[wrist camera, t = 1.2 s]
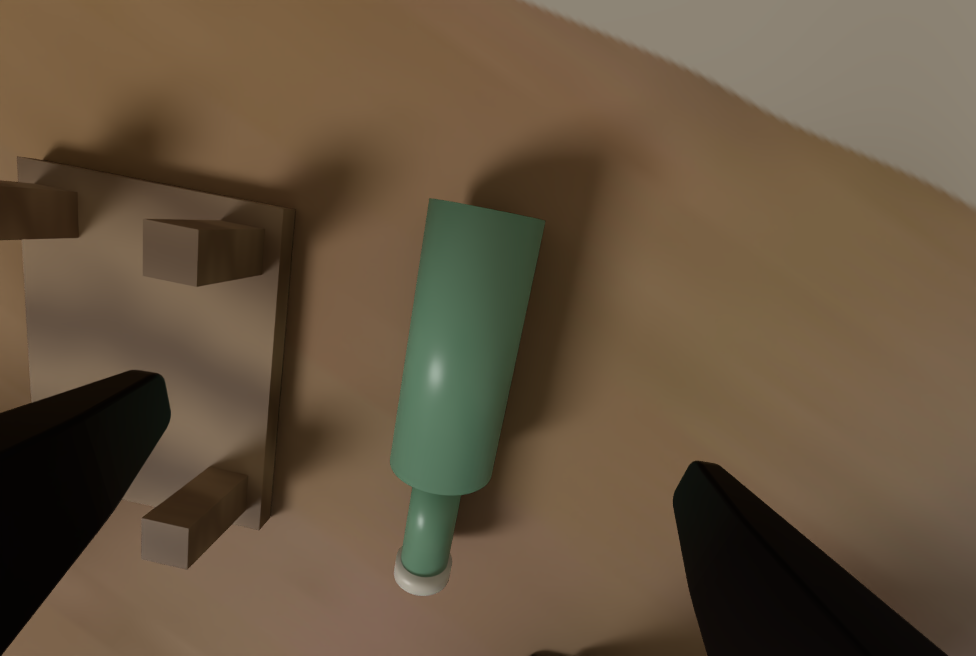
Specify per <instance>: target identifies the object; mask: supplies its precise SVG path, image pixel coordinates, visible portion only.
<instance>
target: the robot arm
mask: <svg viewBox="0 0 976 656" xmlns="http://www.w3.org/2000/svg"><path fill="white" fill-rule="evenodd" d="M170 419H171V408H170V403H169V398H168V393H167V388H166V383H165V379H164V378H163V376H162V375H161V374H158V373H155V372H149V371H143V370H129V371H126V372H123V373H120V374H117V375H114V376H111V377H108V378H105V379H102V380H99V381H96V382H93V383H90V384H87V385H84V386H81V387H78V388H75V389H72V390H69V391H65V392H62V393H59V394H56V395H53V396H50V397H47V398H44V399H41V400H38V401H35V402H32V403H29V404H26V405H23V406H20V407H17V408H14V409H11V410H8V411H5V412H2V413H0V656H2V654H3V653H4V652H5V650H6V649H7V648H8V647H9V645H10V644H11V643H12V641H13V640H14V639H15V638H16V636H17V635H18V634H19V632H20V631H21V630H22V629H23V627H24V626H25V625H26V624H27V622H28V621H29V620H30V618H31V617H32V616H33V615H34V613H35V612H36V611H37V609H38V608H39V607H40V606H41V604H42V603H43V602H44V600H45V599H46V598H47V597H48V595H49V594H50V593H51V592H52V590H53V589H54V588H55V586H56V585H57V584H58V583H59V581H60V580H61V579H62V577H63V576H64V575H65V574H66V572H67V571H68V570H69V568H70V567H71V566H72V565H73V563H74V562H75V561H76V559H77V558H78V557H79V556H80V554H81V553H82V552H83V551H84V549H85V548H86V547H87V545H88V544H89V543H90V542H91V540H92V539H93V538H94V536H95V535H96V534H97V533H98V531H99V530H100V529H101V527H102V526H103V525H104V523H105V522H106V521H107V519H108V518H109V517H110V515H111V514H112V513H113V511H114V510H115V508H116V507H117V506H118V504H119V503H120V501H121V500H122V498H123V497H124V495H125V494H126V492H127V490H128V489H129V487H130V486H131V484H132V483H133V481H134V479H135V478H136V476H137V475H138V473H139V471H140V470H141V468H142V467H143V465H144V464H145V462H146V460H147V459H148V457H149V456H150V454H151V453H152V451H153V449H154V448H155V446H156V445H157V443H158V442H159V440H160V438H161V437H162V435H163V434H164V432H165V431H166V429H167V427H168V425H169V423H170ZM673 508H674V514H675V519H676V524H677V530H678V535H679V540H680V546H681V551H682V556H683V562H684V567H685V573H686V578H687V583H688V587H689V592H690V596H691V599H692V603H693V607H694V611H695V614H696V618H697V621H698V624H699V628H700V631H701V635H702V638H703V642H704V645H705V649H706V652H707V655H708V656H948V655H947V654H946V653H944V652H943V651H942V650H941V649H940V648H938V647H937V646H936V645H935V644H934V643H932V642H931V641H930V640H929V639H928V638H926V637H925V636H924V635H923V634H922V633H920V632H919V631H918V630H917V629H916V628H914V627H913V626H912V625H911V624H910V623H908V622H907V621H906V620H905V619H904V618H902V617H901V616H900V615H899V614H897V613H896V612H895V611H894V610H893V609H891V608H890V607H889V606H888V605H887V604H885V603H884V602H883V601H882V600H881V599H879V598H878V597H877V596H876V595H875V594H873V593H872V592H871V591H870V590H869V589H867V588H866V587H865V586H864V585H863V584H861V583H860V582H859V581H858V580H857V579H855V578H854V577H853V576H852V575H851V574H849V573H848V572H847V571H846V570H845V569H843V568H842V567H841V566H840V565H839V564H837V563H836V562H835V561H834V560H833V559H831V558H830V557H829V556H828V555H827V554H825V553H824V552H823V551H822V550H821V549H819V548H818V547H817V546H816V545H815V544H813V543H812V542H811V541H810V540H809V539H807V538H806V537H805V536H804V535H803V534H801V533H800V532H799V531H798V530H797V529H795V528H794V527H793V526H792V525H791V524H789V523H788V522H787V521H786V520H785V519H783V518H782V517H781V516H780V515H779V514H777V513H776V512H775V511H774V510H773V509H771V508H770V507H769V506H768V505H767V504H765V503H764V502H763V501H762V500H761V499H759V498H758V497H757V496H756V495H755V494H753V493H752V492H751V491H750V490H749V489H747V488H746V487H745V486H744V485H743V484H741V483H740V482H739V481H738V480H737V479H735V478H734V477H733V476H732V475H731V474H729V473H728V472H727V471H726V470H725V469H723V468H722V467H721V466H720V465H718V464H715V463H710V462H703V461H693V462H692V463H691V464H690V465H689V466H688V468H687V470H686V472H685V474H684V475H683V477H682V479H681V481H680V483H679V484H678V486H677V488H676V490H675V492H674V496H673Z"/></svg>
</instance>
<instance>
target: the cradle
mask: <svg viewBox="0 0 976 656" xmlns="http://www.w3.org/2000/svg"><path fill="white" fill-rule="evenodd" d="M17 169H18V182H12V181H0V240H22V254H23V271H24V288H25V305H26V322H27V339H28V356H29V373H30V390H31V403H32V402H35V401H38V400H41V399H44V398H47V397H50V396H53V395H56V394H59V393H62V392H65V391H69V390H72V389H75V388H78V387H81V386H84V385H87V384H90V383H93V382H96V381H99V380H102V379H105V378H108V377H111V376H114V375H117V374H120V373H123V372H126V371H129V370H143V371H149V372H155V373H158V374H161V375H162V376H163V378H164V379H165V383H166V388H167V393H168V398H169V403H170V408H171V419H170V423H169V425H168V427H167V429H166V431H165V432H164V434H163V435H162V437H161V438H160V440H159V442H158V443H157V445H156V446H155V448H154V449H153V451H152V453H151V454H150V456H149V457H148V459H147V460H146V462H145V464H144V465H143V467H142V468H141V470H140V471H139V473H138V475H137V476H136V478H135V479H134V481H133V483H132V484H131V486H130V487H129V489H128V490H127V492H126V494H125V495H124V497H123V498H122V500H126V501H131V502H135V503H139V504H144V505H148V506H153V507H155V508H154V509H153V510H151V511H150V512H149V513H148V514H146V515H145V516H144V517H142V538H141V559H143V560H147V561H152V562H156V563H160V564H165V565H169V566H173V567H178V568H182V569H186V570H187V569H188V568H189V567H190V566H191V565H192V564H193V563H194V562H195V561H196V560H197V559H198V558H199V557H200V556H201V555H202V554H203V553H204V552H205V551H206V550H207V549H208V548H209V547H210V546H211V545H212V544H213V543H214V542H215V541H216V540H217V539H218V538H219V537H220V536H221V535H222V534H223V533H224V532H225V531H226V530H227V529H228V528H229V527H230V526H231V525H232V524H233V525H237V526H242V527H246V528H251V529H255V530H260V529H261V527H262V526H263V525H264V524H265V523H266V522H267V521H268V520H269V518H270V512H271V500H272V487H273V475H274V463H275V451H276V439H277V427H278V415H279V403H280V390H281V378H282V366H283V354H284V342H285V330H286V318H287V306H288V293H289V281H290V269H291V257H292V245H293V233H294V221H295V209H291V208H286V207H280V206H275V205H270V204H265V203H260V202H255V201H250V200H245V199H239V198H234V197H229V196H224V195H219V194H214V193H209V192H204V191H199V190H193V189H188V188H183V187H178V186H173V185H168V184H163V183H158V182H152V181H147V180H142V179H137V178H132V177H127V176H122V175H117V174H111V173H106V172H101V171H96V170H91V169H86V168H81V167H76V166H71V165H65V164H60V163H55V162H50V161H45V160H39V159H32V158H25V157H17Z"/></svg>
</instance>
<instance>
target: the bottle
mask: <svg viewBox="0 0 976 656" xmlns="http://www.w3.org/2000/svg"><path fill="white" fill-rule="evenodd" d="M544 226H545V221H544V220H541V219H536V218H532V217H527V216H522V215H518V214H513V213H508V212H503V211H498V210H493V209H487V208H482V207H477V206H472V205H466V204H461V203H455V202H450V201H444V200H438V199H431V198H429V204H428V211H427V218H426V224H425V231H424V238H423V244H422V251H421V258H420V264H419V271H418V277H417V284H416V291H415V297H414V304H413V311H412V317H411V324H410V331H409V337H408V344H407V351H406V357H405V364H404V371H403V377H402V384H401V390H400V397H399V404H398V410H397V417H396V424H395V430H394V437H393V444H392V450H391V457H390V465H391V468H392V470H393V472H394V473H395V474H396V476H397V477H398V478H400V479H401V480H402V481H403V482H405V483H406V484H408V485H410V486H412V493H411V499H410V505H409V511H408V517H407V523H406V529H405V535H404V541H403V546H402V547H401V548H400V549H399V551H398V553H397V557H396V563H395V569H394V577H395V580H396V582H397V583H398V585H399V586H400V587H401V588H402V589H403V590H405V591H406V592H408V593H411V594H414V595H419V596H428V595H433V594H435V593H438V592H439V591H441V590H442V589H443V588H444V587H445V586H446V585H447V583H448V581H449V576H450V571H451V566H452V557H451V554H450V549H451V544H452V539H453V534H454V529H455V524H456V519H457V514H458V508H459V503H460V498H461V495H464V494H469V493H472V492H475V491H477V490H480V489H481V488H483V487H484V486H485V485H487V483H488V482H489V481H490V479H491V476H492V471H493V467H494V462H495V457H496V452H497V448H498V443H499V438H500V433H501V429H502V424H503V419H504V415H505V410H506V405H507V400H508V396H509V391H510V386H511V382H512V377H513V372H514V367H515V363H516V358H517V353H518V348H519V344H520V339H521V334H522V330H523V325H524V320H525V315H526V311H527V306H528V301H529V297H530V292H531V287H532V282H533V278H534V273H535V268H536V264H537V259H538V254H539V249H540V245H541V240H542V235H543V230H544Z"/></svg>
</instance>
